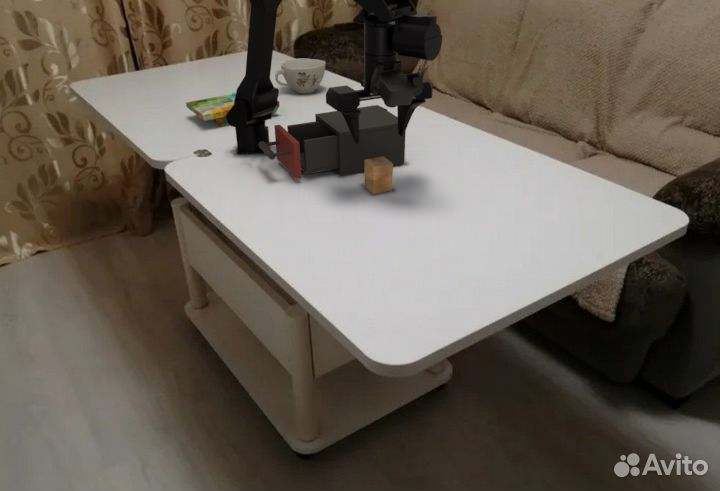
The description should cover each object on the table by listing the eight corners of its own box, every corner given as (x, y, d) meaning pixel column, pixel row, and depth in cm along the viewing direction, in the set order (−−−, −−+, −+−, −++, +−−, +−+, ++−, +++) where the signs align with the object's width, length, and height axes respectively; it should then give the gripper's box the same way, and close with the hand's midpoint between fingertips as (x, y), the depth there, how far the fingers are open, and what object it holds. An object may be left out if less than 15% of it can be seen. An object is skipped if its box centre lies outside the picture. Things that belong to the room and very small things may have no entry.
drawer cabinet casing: (340, 176, 118) (339, 132, 114) (316, 154, 128) (315, 113, 124) (404, 164, 124) (406, 122, 119) (377, 144, 134) (377, 104, 129)
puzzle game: (278, 97, 148) (201, 111, 139) (280, 116, 151) (204, 130, 141) (259, 86, 157) (185, 99, 147) (260, 104, 159) (188, 117, 150)
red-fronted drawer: (274, 183, 114) (271, 147, 110) (256, 162, 122) (253, 128, 119) (358, 167, 120) (358, 133, 116) (336, 148, 129) (335, 116, 125)
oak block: (373, 194, 111) (373, 167, 109) (364, 186, 115) (364, 159, 112) (392, 190, 113) (393, 163, 110) (382, 182, 116) (383, 156, 113)
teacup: (314, 82, 178) (313, 55, 173) (334, 93, 168) (333, 64, 164) (268, 89, 171) (265, 61, 167) (285, 101, 162) (283, 71, 158)
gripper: (351, 69, 92) (351, 163, 100) (452, 56, 99) (445, 145, 107) (323, 54, 100) (326, 141, 108) (418, 43, 107) (414, 126, 115)
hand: (379, 139), depth 109 cm, fingers open, 9 cm apart
